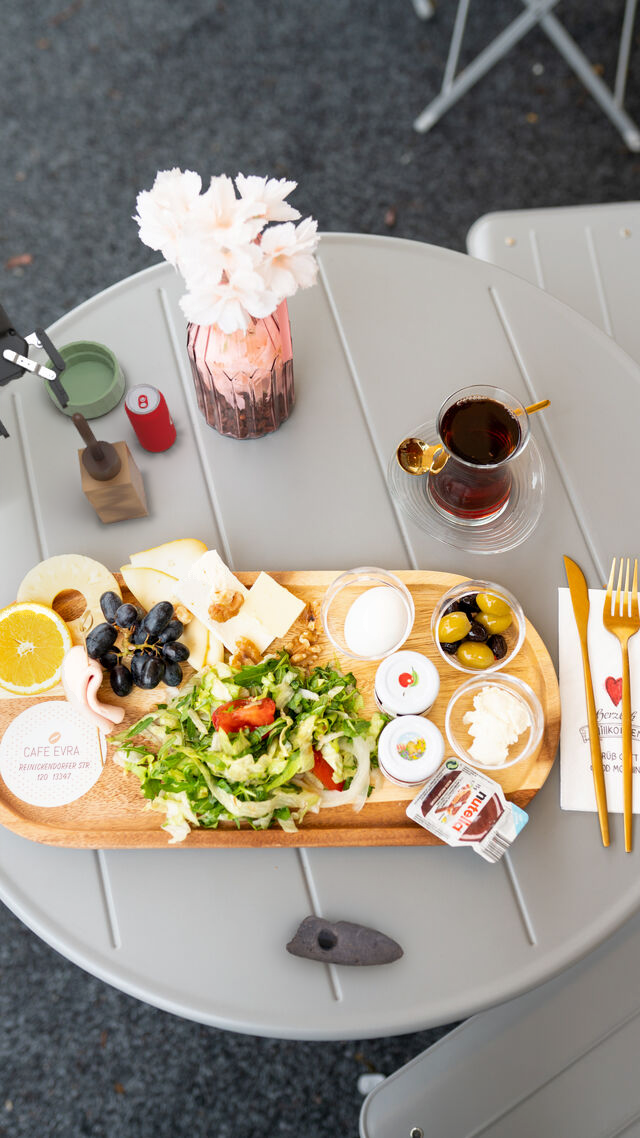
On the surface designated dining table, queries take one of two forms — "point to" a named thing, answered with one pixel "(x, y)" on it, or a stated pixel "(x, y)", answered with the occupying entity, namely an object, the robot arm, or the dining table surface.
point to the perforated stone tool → (343, 943)
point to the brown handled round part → (97, 453)
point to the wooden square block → (116, 489)
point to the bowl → (88, 379)
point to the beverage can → (150, 418)
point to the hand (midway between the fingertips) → (36, 422)
